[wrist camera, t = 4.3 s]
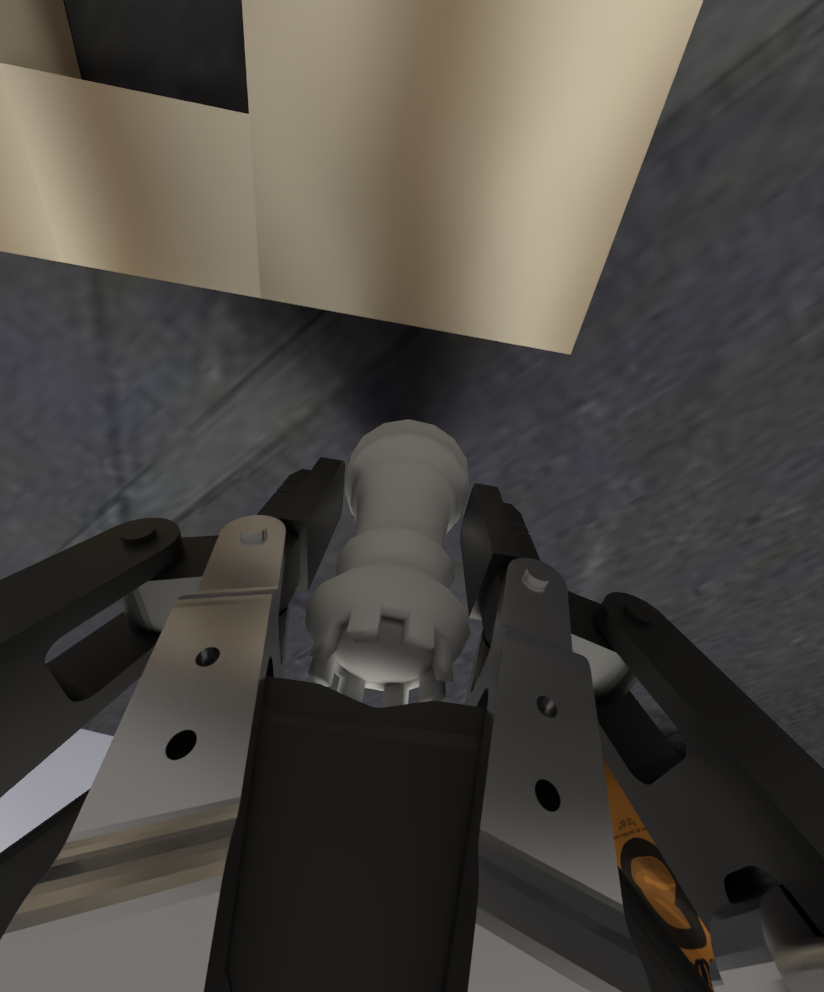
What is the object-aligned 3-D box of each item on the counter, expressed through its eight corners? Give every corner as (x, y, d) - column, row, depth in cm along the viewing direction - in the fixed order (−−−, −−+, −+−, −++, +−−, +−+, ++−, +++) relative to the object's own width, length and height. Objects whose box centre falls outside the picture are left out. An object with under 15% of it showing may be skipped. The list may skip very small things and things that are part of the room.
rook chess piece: (327, 469, 13) (202, 664, 6) (410, 387, 11) (371, 528, 4) (408, 538, 14) (384, 760, 7) (492, 475, 12) (566, 688, 6)
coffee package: (646, 729, 27) (1182, 1766, 8) (740, 771, 30) (1293, 1596, 11) (558, 772, 31) (762, 1498, 12) (647, 805, 34) (923, 1431, 15)
